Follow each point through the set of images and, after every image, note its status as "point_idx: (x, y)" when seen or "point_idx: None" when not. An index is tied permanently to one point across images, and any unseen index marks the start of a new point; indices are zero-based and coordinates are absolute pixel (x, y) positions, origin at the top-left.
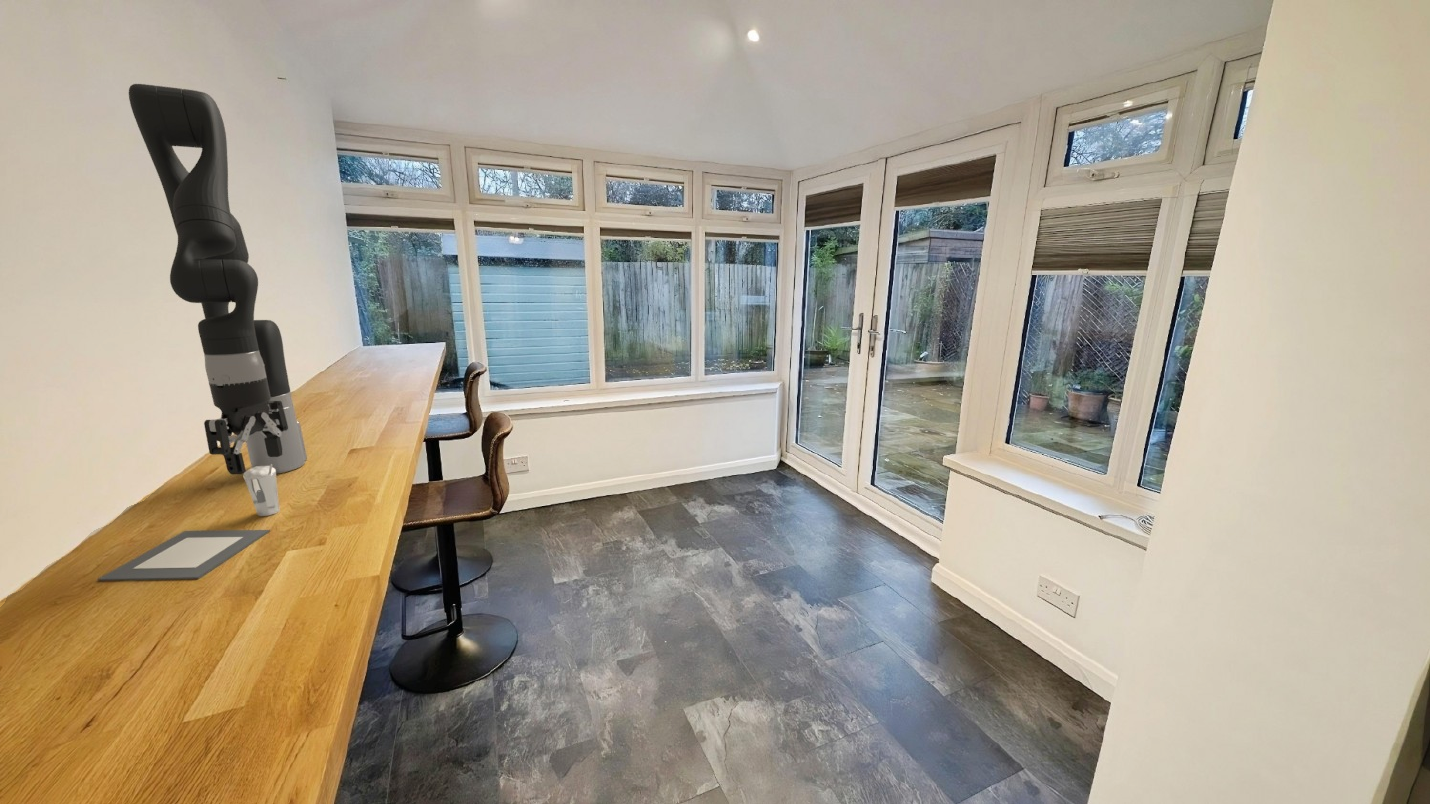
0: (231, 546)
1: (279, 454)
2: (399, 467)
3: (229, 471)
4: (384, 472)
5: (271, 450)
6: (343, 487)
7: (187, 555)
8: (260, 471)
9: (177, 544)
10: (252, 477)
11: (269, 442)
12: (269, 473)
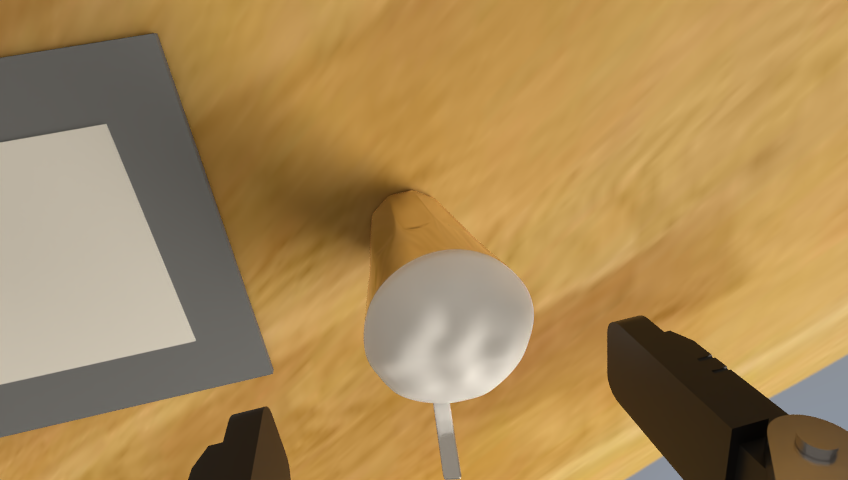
0: (128, 363)
1: (619, 400)
2: (816, 355)
3: (204, 463)
4: (775, 340)
5: (640, 379)
6: (645, 307)
7: (4, 283)
8: (421, 393)
9: (45, 146)
10: (372, 364)
11: (693, 431)
12: (437, 408)
